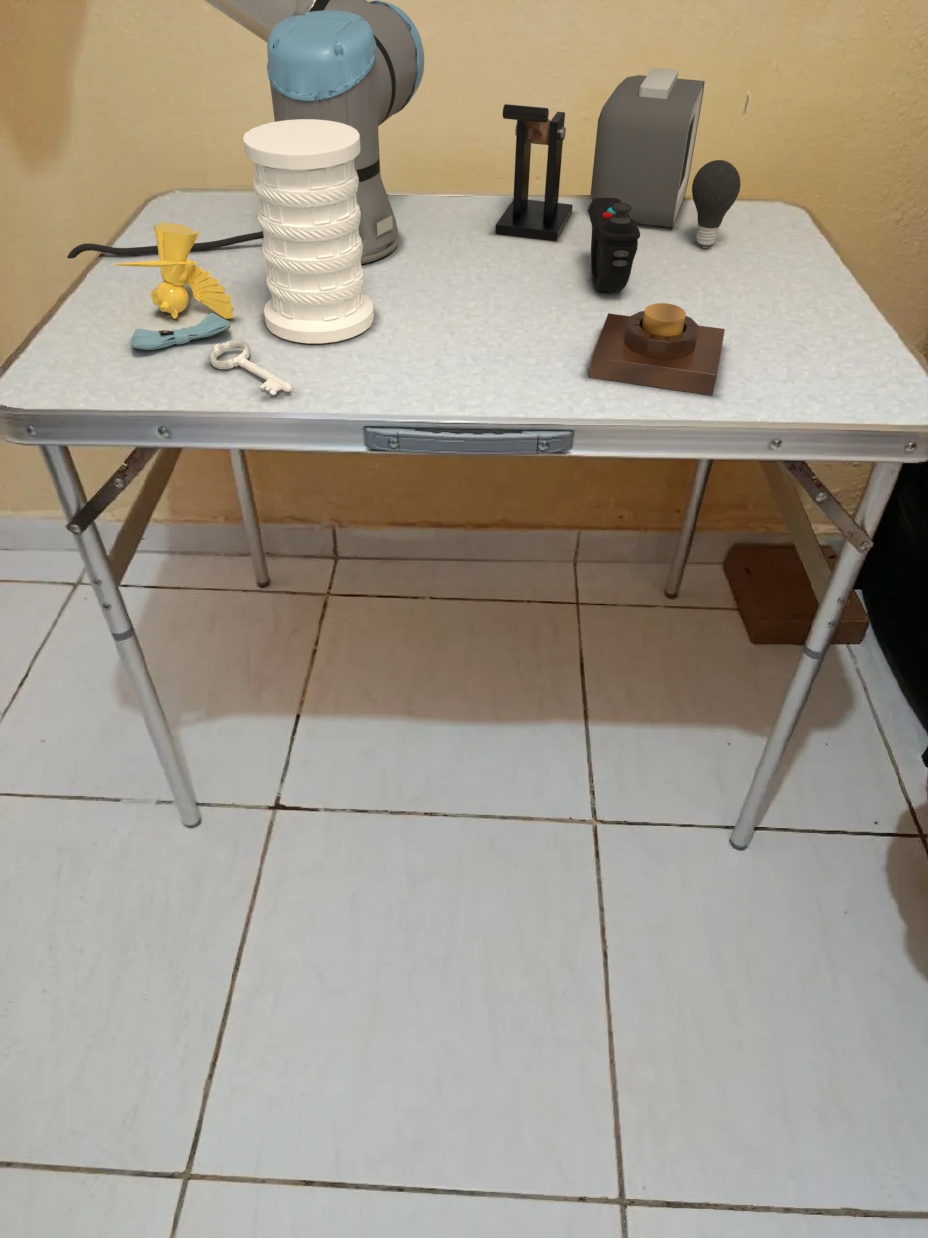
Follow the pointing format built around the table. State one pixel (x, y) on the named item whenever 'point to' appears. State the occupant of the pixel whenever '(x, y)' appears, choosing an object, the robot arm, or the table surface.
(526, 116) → the lever
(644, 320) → the power button
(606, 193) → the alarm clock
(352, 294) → the decorative container
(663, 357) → the switch block
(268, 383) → the key
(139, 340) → the bow tie
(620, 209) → the controller
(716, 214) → the light bulb
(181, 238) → the figurine
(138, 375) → the table surface
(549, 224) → the switch bracket
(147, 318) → the table surface
